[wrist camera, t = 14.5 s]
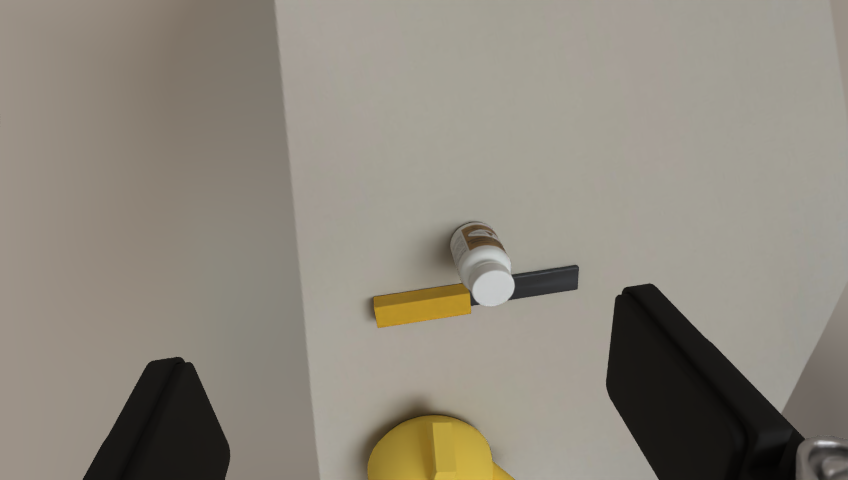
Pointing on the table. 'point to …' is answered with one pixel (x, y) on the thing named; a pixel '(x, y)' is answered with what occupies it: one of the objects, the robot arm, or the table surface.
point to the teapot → (433, 452)
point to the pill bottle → (482, 263)
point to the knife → (465, 297)
